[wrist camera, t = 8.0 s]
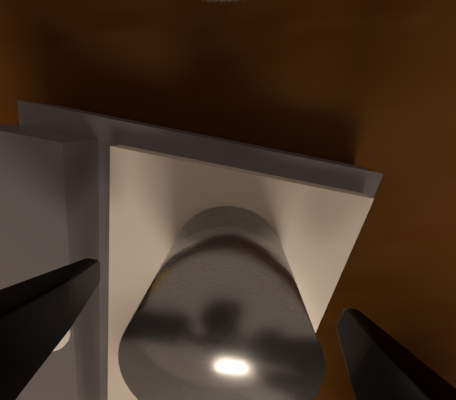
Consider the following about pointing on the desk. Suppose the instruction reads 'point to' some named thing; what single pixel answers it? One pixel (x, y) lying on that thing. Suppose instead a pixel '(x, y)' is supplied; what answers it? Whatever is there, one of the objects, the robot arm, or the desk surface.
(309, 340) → the cylinder
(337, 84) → the desk surface
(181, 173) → the scale
